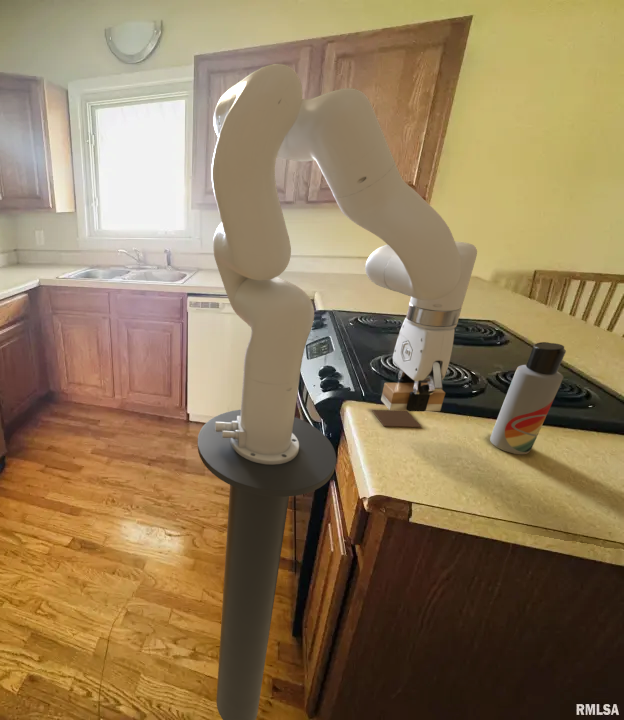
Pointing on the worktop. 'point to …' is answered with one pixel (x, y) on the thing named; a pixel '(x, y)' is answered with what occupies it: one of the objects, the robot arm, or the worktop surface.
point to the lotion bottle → (529, 399)
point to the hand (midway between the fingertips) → (409, 403)
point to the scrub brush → (399, 393)
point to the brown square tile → (396, 418)
